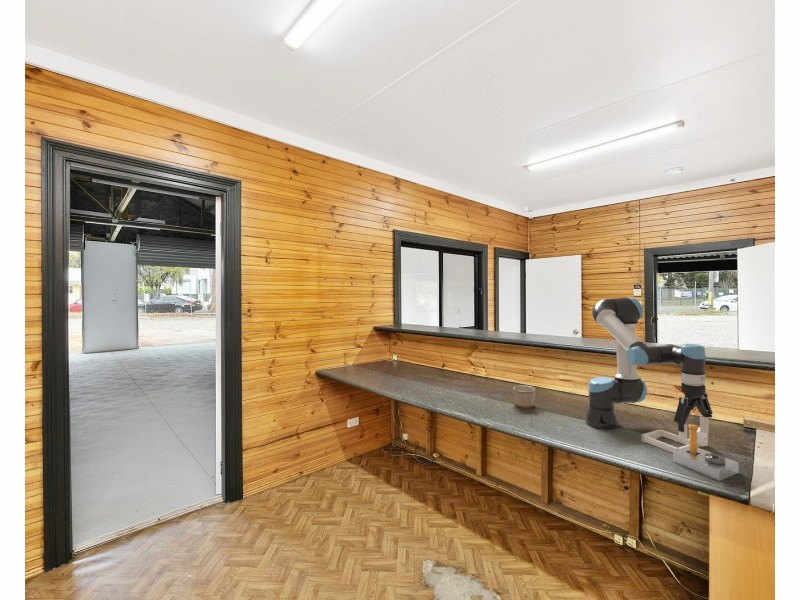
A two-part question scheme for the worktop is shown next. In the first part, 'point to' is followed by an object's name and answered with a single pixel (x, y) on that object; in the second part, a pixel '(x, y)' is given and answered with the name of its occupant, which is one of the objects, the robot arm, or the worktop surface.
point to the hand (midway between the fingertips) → (693, 435)
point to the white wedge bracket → (702, 438)
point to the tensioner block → (706, 463)
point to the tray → (659, 433)
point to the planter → (524, 396)
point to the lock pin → (693, 439)
